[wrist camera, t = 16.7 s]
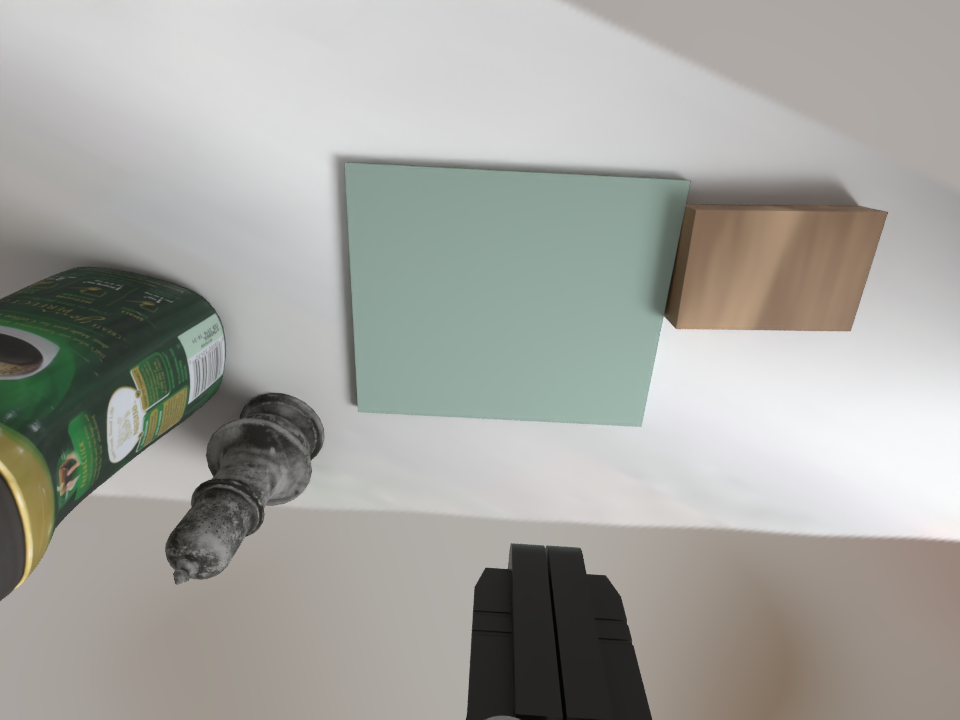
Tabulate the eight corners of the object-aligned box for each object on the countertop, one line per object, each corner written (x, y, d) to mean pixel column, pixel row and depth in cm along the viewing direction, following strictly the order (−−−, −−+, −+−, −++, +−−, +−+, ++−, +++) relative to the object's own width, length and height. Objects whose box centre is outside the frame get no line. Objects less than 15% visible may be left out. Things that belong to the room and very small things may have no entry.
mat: (686, 179, 26) (690, 181, 26) (638, 421, 32) (641, 426, 31) (347, 162, 26) (344, 163, 26) (360, 407, 32) (358, 412, 31)
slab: (679, 203, 27) (854, 205, 27) (661, 313, 30) (822, 315, 29) (696, 210, 25) (887, 212, 25) (676, 328, 27) (850, 331, 27)
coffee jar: (69, 376, 31) (-426, 668, 15) (58, 249, 28) (-590, 430, 11) (231, 411, 32) (-59, 727, 15) (238, 291, 29) (-119, 519, 12)
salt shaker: (264, 479, 34) (156, 645, 23) (216, 405, 32) (74, 549, 21) (344, 455, 33) (272, 615, 22) (301, 376, 31) (198, 512, 20)
